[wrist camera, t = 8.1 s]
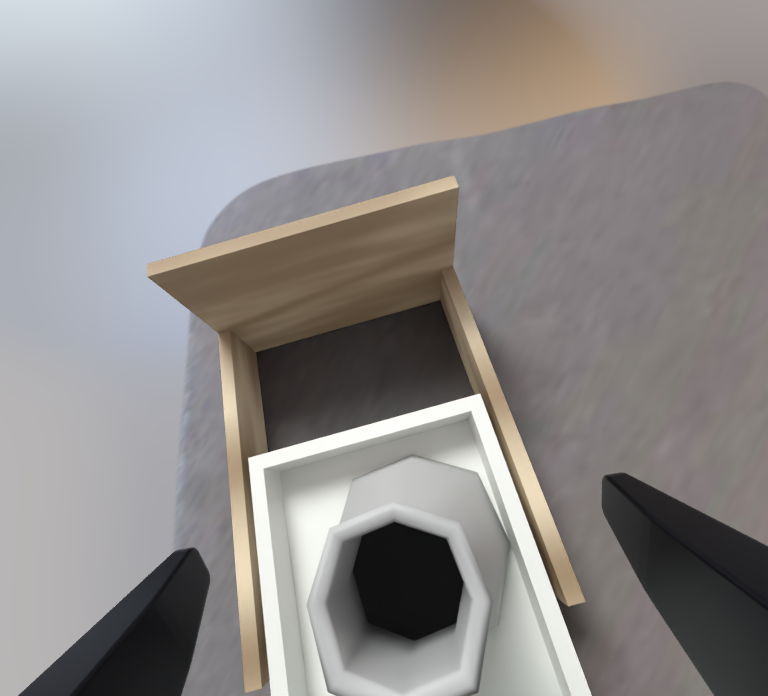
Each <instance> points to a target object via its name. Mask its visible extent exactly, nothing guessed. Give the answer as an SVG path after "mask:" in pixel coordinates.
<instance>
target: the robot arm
mask: <svg viewBox="0 0 768 696" xmlns="http://www.w3.org/2000/svg"><path fill="white" fill-rule="evenodd" d="M602 510H603V513H604V515H605V517H606V519H607V521H608V523H609V525H610V527H611V529H612V531H613V532H614V534H615V536H616V538H617V540H618V542H619V544H620V545H621V547H622V549H623V551H624V553H625V555H626V557H627V558H628V560H629V562H630V564H631V566H632V568H633V570H634V572H635V573H636V575H637V577H638V579H639V581H640V582H641V584H642V586H643V588H644V590H645V591H646V593H647V594H648V596H649V598H650V599H651V601H652V602H653V604H654V605H655V607H656V608H657V610H658V611H659V613H660V614H661V616H662V618H663V619H664V621H665V622H666V624H667V625H668V627H669V628H670V630H671V631H672V633H673V634H674V636H675V637H676V639H677V640H678V642H679V643H680V645H681V646H682V648H683V649H684V651H685V652H686V654H687V655H688V657H689V658H690V660H691V661H692V663H693V664H694V666H695V667H696V669H697V670H698V672H699V673H700V675H701V676H702V678H703V679H704V681H705V682H706V684H707V685H708V687H709V688H710V690H711V691H712V693H713V694H714V696H768V546H766V545H764V544H762V543H760V542H758V541H757V540H755V539H753V538H751V537H749V536H747V535H745V534H743V533H741V532H739V531H737V530H735V529H733V528H731V527H729V526H727V525H725V524H723V523H722V522H720V521H718V520H716V519H714V518H712V517H710V516H708V515H706V514H704V513H702V512H700V511H698V510H696V509H694V508H692V507H690V506H688V505H687V504H685V503H683V502H681V501H679V500H677V499H675V498H673V497H671V496H669V495H667V494H665V493H663V492H661V491H659V490H657V489H655V488H653V487H652V486H650V485H648V484H646V483H644V482H642V481H640V480H638V479H636V478H634V477H632V476H630V475H628V474H626V473H615V474H609V475H605V476H604V477H603V478H602ZM209 584H210V574H209V571H208V569H207V567H206V565H205V563H204V561H203V559H202V557H201V555H200V554H199V552H198V550H197V549H195V548H186V549H180V550H177V551H175V552H173V553H172V554H171V555H170V556H169V557H168V558H167V559H166V560H165V561H163V563H161V564H160V565H159V566H158V567H157V568H156V569H155V570H154V571H153V572H152V573H151V574H150V575H148V576H147V577H146V578H145V579H144V580H143V581H142V582H141V583H140V584H139V585H138V586H137V587H135V589H133V590H132V591H131V592H130V593H129V594H128V595H127V596H126V597H125V598H123V599H122V600H121V601H120V602H119V603H118V604H117V605H116V606H115V607H114V608H113V609H112V610H110V611H109V612H108V613H107V614H106V615H105V616H104V617H103V618H102V619H101V620H100V621H99V622H97V623H96V624H95V625H94V626H93V627H92V628H91V629H90V630H89V631H88V632H87V633H86V634H85V635H84V636H82V637H81V638H80V639H79V640H78V641H77V642H76V643H75V644H74V645H73V646H71V647H70V648H69V649H68V650H67V651H66V652H65V653H64V654H63V655H62V656H61V657H60V658H59V659H57V660H56V661H55V662H54V663H53V664H52V665H51V666H50V667H49V668H48V669H47V670H45V671H44V672H43V673H42V674H41V675H40V676H39V677H38V678H37V679H36V680H35V681H34V682H32V683H31V684H30V685H29V686H28V687H27V688H26V689H25V690H24V691H23V692H22V693H21V694H19V696H181V694H182V691H183V688H184V685H185V682H186V679H187V675H188V672H189V669H190V665H191V662H192V658H193V654H194V650H195V646H196V642H197V637H198V633H199V628H200V624H201V620H202V615H203V611H204V607H205V602H206V598H207V593H208V589H209Z"/></svg>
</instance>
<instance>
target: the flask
mask: <svg viewBox="0 0 768 696" xmlns="http://www.w3.org/2000/svg"><path fill="white" fill-rule="evenodd" d="M509 549H510V541H509V539H508V536H507V534H506V532H505V530H504V528H503V526H502V524H501V521H500V519H499V517H498V515H497V513H496V511H495V509H494V506H493V504H492V502H491V500H490V498H489V496H488V494H487V491H486V489H485V487H484V485H483V483H482V481H481V478H480V476H479V474H478V472H475V471H471V470H468V469H464V468H460V467H457V466H453V465H450V464H446V463H442V462H439V461H435V460H431V459H428V458H424V457H421V456H417V455H413V454H412V455H410V456H407V457H405V458H402V459H400V460H398V461H395V462H393V463H390V464H388V465H386V466H383V467H381V468H378V469H376V470H373V471H371V472H369V473H366V474H364V475H361V476H359V477H357V478H354V479H352V483H351V486H350V490H349V493H348V496H347V500H346V503H345V507H344V510H343V513H342V517H341V520H340V524H338V525H335V526H333V527H331V528H329V532H328V535H327V538H326V542H325V545H324V548H323V551H322V555H321V558H320V561H319V565H318V568H317V571H316V575H315V578H314V581H313V585H312V588H311V591H310V595H309V598H308V601H307V609H308V613H309V618H310V622H311V626H312V630H313V634H314V638H315V642H316V646H317V650H318V654H319V658H320V663H321V667H322V671H323V675H324V679H325V683H326V687H327V691H328V693H330V694H333V695H335V696H471V695H474V694H476V693H478V692H479V686H480V680H481V673H482V667H483V660H484V654H485V647H486V641H487V634H488V630H489V629H492V628H494V627H496V626H498V624H499V617H500V610H501V603H502V596H503V590H504V583H505V576H506V569H507V562H508V556H509Z"/></svg>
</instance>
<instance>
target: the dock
mask: <svg viewBox="0 0 768 696" xmlns="http://www.w3.org/2000/svg"><path fill="white" fill-rule="evenodd" d="M458 193H459V186H458V184H457V182H456V179H455V177H454V176H450V177H447V178H443V179H440V180H436V181H433V182H429V183H426V184H423V185H419V186H416V187H412V188H409V189H405V190H402V191H398V192H395V193H391V194H388V195H384V196H381V197H377V198H374V199H371V200H367V201H364V202H360V203H357V204H353V205H350V206H346V207H343V208H339V209H336V210H332V211H329V212H325V213H322V214H319V215H315V216H312V217H308V218H305V219H301V220H298V221H294V222H291V223H287V224H284V225H280V226H277V227H273V228H270V229H266V230H263V231H260V232H256V233H253V234H249V235H246V236H242V237H239V238H235V239H232V240H228V241H225V242H221V243H218V244H214V245H211V246H208V247H204V248H201V249H197V250H194V251H190V252H187V253H183V254H180V255H177V256H173V257H169V258H166V259H162V260H159V261H156V262H152V263H149V264H147V269H148V270H147V276H148V278H150V279H151V280H152V281H153V282H155V283H156V284H157V285H158V286H160V287H161V288H162V289H164V290H165V291H166V292H167V293H169V294H170V295H171V296H172V297H174V298H175V299H176V300H177V301H179V302H180V303H181V304H182V305H184V306H185V307H186V308H187V309H189V310H190V311H191V312H192V313H194V314H195V315H196V316H198V317H199V318H200V319H201V320H203V321H204V322H205V323H206V324H208V325H209V326H210V327H211V328H213V329H214V330H215V331H216V332H218V338H219V351H220V364H221V378H222V391H223V404H224V418H225V431H226V444H227V458H228V471H229V485H230V498H231V511H232V525H233V538H234V551H235V565H236V578H237V591H238V605H239V618H240V631H241V645H242V658H243V671H244V685H245V693H246V692H250V691H254V690H257V689H261V688H263V687H264V686H265V684H266V683H267V682H268V681H269V680H270V678H269V668H268V657H267V647H266V637H265V626H264V616H263V606H262V595H261V585H260V575H259V565H258V554H257V544H256V534H255V523H254V513H253V503H252V492H251V482H250V472H249V461H248V458H250V457H254V456H257V455H261V454H264V453H268V448H267V439H266V431H265V422H264V414H263V405H262V397H261V389H260V380H259V372H258V363H257V355H256V352H259V351H262V350H266V349H269V348H273V347H276V346H280V345H283V344H287V343H291V342H294V341H298V340H301V339H305V338H308V337H312V336H315V335H319V334H322V333H326V332H329V331H333V330H336V329H340V328H344V327H347V326H351V325H354V324H358V323H361V322H365V321H368V320H372V319H375V318H379V317H382V316H386V315H390V314H393V313H397V312H400V311H404V310H407V309H411V308H414V307H418V306H421V305H425V304H428V303H432V302H435V301H439V300H440V301H441V304H442V306H443V309H444V312H445V315H446V317H447V320H448V323H449V326H450V328H451V331H452V334H453V337H454V340H455V342H456V345H457V348H458V351H459V353H460V356H461V359H462V362H463V364H464V367H465V370H466V373H467V375H468V378H469V381H470V384H471V386H472V389H473V392H474V395H477V394H481V397H482V400H483V402H484V405H485V408H486V410H487V413H488V416H489V418H490V421H491V424H492V427H493V429H494V432H495V435H496V437H497V440H498V443H499V446H500V448H501V451H502V454H503V456H504V459H505V462H506V465H507V467H508V470H509V473H510V475H511V478H512V481H513V484H514V486H515V489H516V492H517V494H518V497H519V500H520V502H521V505H522V508H523V511H524V513H525V516H526V519H527V521H528V524H529V527H530V530H531V532H532V535H533V538H534V540H535V543H536V546H537V549H538V551H539V554H540V557H541V559H542V562H543V565H544V567H545V570H546V573H547V576H548V578H549V581H550V584H551V586H552V589H553V592H554V595H555V597H557V598H558V599H559V600H561V601H562V602H563V603H564V604H566V605H567V606H572V605H576V604H579V603H583V602H586V601H585V599H584V596H583V594H582V591H581V589H580V586H579V584H578V581H577V579H576V576H575V574H574V571H573V569H572V566H571V564H570V561H569V558H568V556H567V553H566V551H565V548H564V546H563V543H562V541H561V538H560V536H559V533H558V531H557V528H556V526H555V523H554V521H553V518H552V515H551V513H550V510H549V508H548V505H547V503H546V500H545V498H544V495H543V493H542V490H541V488H540V485H539V483H538V480H537V478H536V475H535V472H534V470H533V467H532V465H531V462H530V460H529V457H528V455H527V452H526V450H525V447H524V445H523V442H522V440H521V437H520V435H519V432H518V429H517V427H516V424H515V422H514V419H513V417H512V414H511V412H510V409H509V407H508V404H507V402H506V399H505V397H504V394H503V392H502V389H501V386H500V384H499V381H498V379H497V376H496V374H495V371H494V369H493V366H492V364H491V361H490V359H489V356H488V354H487V351H486V349H485V346H484V343H483V341H482V338H481V336H480V333H479V331H478V328H477V326H476V323H475V321H474V318H473V316H472V313H471V311H470V308H469V306H468V303H467V301H466V298H465V295H464V293H463V290H462V288H461V285H460V283H459V280H458V278H457V275H456V273H455V270H454V268H453V259H454V245H455V232H456V219H457V206H458Z"/></svg>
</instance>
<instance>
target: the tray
mask: <svg viewBox="0 0 768 696" xmlns="http://www.w3.org/2000/svg"><path fill="white" fill-rule="evenodd" d="M412 454H413V455H417V456H421V457H424V458H428V459H431V460H435V461H439V462H442V463H446V464H450V465H453V466H457V467H460V468H464V469H468V470H471V471H475V472H478V474H479V476H480V478H481V481H482V483H483V485H484V487H485V489H486V491H487V494H488V496H489V498H490V500H491V502H492V504H493V506H494V509H495V511H496V513H497V515H498V517H499V519H500V521H501V524H502V526H503V528H504V530H505V532H506V534H507V536H508V539H509V541H510V549H509V556H508V562H507V569H506V576H505V583H504V590H503V596H502V603H501V610H500V617H499V624H498V626H496V627H494V628H492V629H489V630H488V634H487V641H486V647H485V654H484V660H483V667H482V673H481V680H480V686H479V692H478V693H476V694H474V695H471V696H592V695H591V692H590V689H589V687H588V684H587V681H586V679H585V676H584V673H583V670H582V668H581V665H580V662H579V660H578V657H577V654H576V651H575V649H574V646H573V643H572V641H571V638H570V635H569V633H568V630H567V627H566V624H565V622H564V619H563V616H562V614H561V611H560V608H559V605H558V603H557V600H556V597H555V595H554V592H553V589H552V586H551V584H550V581H549V578H548V576H547V573H546V570H545V567H544V565H543V562H542V559H541V557H540V554H539V551H538V549H537V546H536V543H535V540H534V538H533V535H532V532H531V530H530V527H529V524H528V521H527V519H526V516H525V513H524V511H523V508H522V505H521V502H520V500H519V497H518V494H517V492H516V489H515V486H514V484H513V481H512V478H511V475H510V473H509V470H508V467H507V465H506V462H505V459H504V456H503V454H502V451H501V448H500V446H499V443H498V440H497V437H496V435H495V432H494V429H493V427H492V424H491V421H490V418H489V416H488V413H487V410H486V408H485V405H484V402H483V400H482V397H481V394H477V395H473V396H469V397H466V398H462V399H459V400H455V401H451V402H448V403H444V404H441V405H437V406H433V407H430V408H426V409H423V410H419V411H415V412H412V413H408V414H405V415H401V416H398V417H394V418H390V419H387V420H383V421H380V422H376V423H372V424H369V425H365V426H362V427H358V428H354V429H351V430H347V431H344V432H340V433H336V434H333V435H329V436H326V437H322V438H318V439H315V440H311V441H308V442H304V443H300V444H297V445H293V446H290V447H286V448H282V449H279V450H275V451H272V452H268V453H264V454H261V455H257V456H254V457H250V458H248V461H249V472H250V482H251V492H252V503H253V513H254V523H255V534H256V544H257V554H258V565H259V575H260V585H261V595H262V606H263V616H264V626H265V637H266V647H267V657H268V668H269V678H270V688H271V696H335V695H333V694H330V693H328V691H327V687H326V683H325V679H324V675H323V671H322V667H321V663H320V658H319V654H318V650H317V646H316V642H315V638H314V634H313V630H312V626H311V622H310V618H309V613H308V609H307V601H308V598H309V595H310V591H311V588H312V585H313V581H314V578H315V575H316V571H317V568H318V565H319V561H320V558H321V555H322V551H323V548H324V545H325V542H326V538H327V535H328V532H329V528H331V527H333V526H335V525H338V524H340V520H341V517H342V513H343V510H344V507H345V503H346V500H347V496H348V493H349V490H350V486H351V483H352V479H354V478H357V477H359V476H361V475H364V474H366V473H369V472H371V471H373V470H376V469H378V468H381V467H383V466H386V465H388V464H390V463H393V462H395V461H398V460H400V459H402V458H405V457H407V456H410V455H412Z"/></svg>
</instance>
